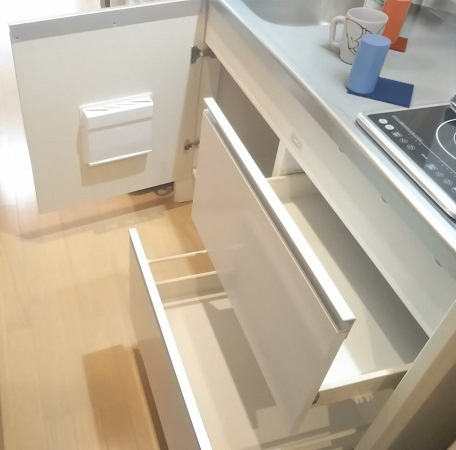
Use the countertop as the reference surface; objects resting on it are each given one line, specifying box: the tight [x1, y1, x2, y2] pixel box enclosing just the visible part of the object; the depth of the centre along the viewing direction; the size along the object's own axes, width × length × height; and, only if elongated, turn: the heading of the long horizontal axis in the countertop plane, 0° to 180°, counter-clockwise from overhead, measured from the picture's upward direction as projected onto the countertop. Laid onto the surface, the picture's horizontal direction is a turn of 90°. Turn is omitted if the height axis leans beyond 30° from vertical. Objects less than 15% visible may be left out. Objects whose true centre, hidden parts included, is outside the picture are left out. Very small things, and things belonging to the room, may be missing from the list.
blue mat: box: [346, 76, 415, 109], centre depth 106 cm, size 12×10×1 cm
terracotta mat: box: [389, 36, 409, 53], centre depth 125 cm, size 10×8×1 cm
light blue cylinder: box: [345, 34, 391, 94], centre depth 102 cm, size 6×6×10 cm
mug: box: [328, 6, 388, 65], centre depth 114 cm, size 11×8×10 cm
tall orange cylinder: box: [380, 0, 413, 44], centre depth 121 cm, size 6×6×10 cm
